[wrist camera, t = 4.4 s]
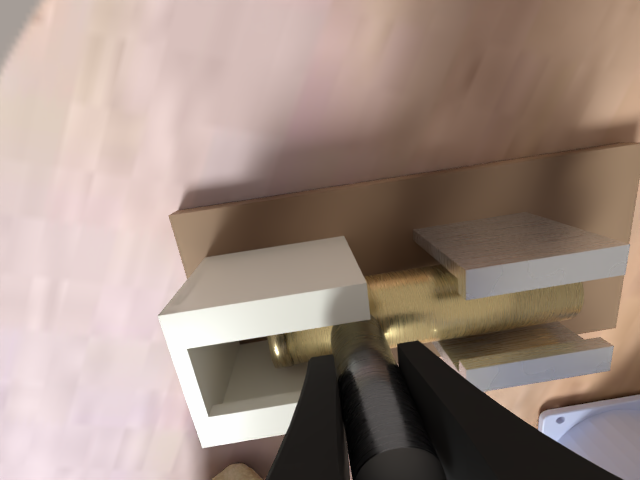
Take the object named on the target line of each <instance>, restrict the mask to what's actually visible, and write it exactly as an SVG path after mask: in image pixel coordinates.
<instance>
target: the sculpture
mask: <svg viewBox="0 0 640 480" xmlns="http://www.w3.org/2000/svg"><path fill="white" fill-rule="evenodd" d="M211 480H264V479H262V478H261V477H260V476H259V475H258V474H257V473H256V472H255V471H254V470H253V469H252V468H250V467H248V466H247V465H245V464H243V463H238V464H232V465H229V466H228V467H226V468H225V469H224V470H223V471H221V472H220V473H219V474H218V475H217V476H215V477H214V478H213V479H211Z"/></svg>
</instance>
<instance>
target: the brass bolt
mask: <svg viewBox="0 0 640 480" xmlns="http://www.w3.org/2000/svg"><path fill="white" fill-rule="evenodd" d="M364 278H365V280H366V283H367V291H368V300H369V309H370V318H371V319H370V320H364V321H357V322H351V323H345V324H339V325H332V326H326V327H320V328H314V329H307V330H301V331H295V332H289V333H283V334H276V335H270V336H267V340H268V346H269V351H270V355H271V359H272V362H273V364H274V366H275V368H283V367H289V366H293V365H294V364H298V363H305V362H308V361H309V360H310V359H311V357H317V356H323V355H330V354H333V357H334V363H335V369H336V376H337V382H338V389H339V396H340V402H341V409H342V416H343V422H344V429H345V435H346V441H347V447H348V454H349V460H350V466H351V473H352V479H353V480H447V478H446V474H445V472H444V469H443V466H442V464H441V462H440V459H439V457H438V455H437V453H436V450H435V448H434V446H433V444H432V441H431V439H430V437H429V435H428V432H427V430H426V428H425V426H424V423H423V421H422V419H421V416H420V414H419V412H418V410H417V407H416V405H415V403H414V401H413V398H412V396H411V394H410V392H409V389H408V387H407V385H406V383H405V380H404V378H403V376H402V374H401V371H400V369H399V367H398V364H397V362H396V360H395V358H394V355H393V353H392V351H391V348H397V344H398V343H405V342H411V341H417V340H418V341H420V342H421V343H428V342H434V341H440V340H446V339H452V338H459V337H465V336H471V335H477V334H483V333H489V332H496V331H502V330H508V329H514V328H520V327H526V326H533V325H539V324H545V323H551V322H557V321H563V320H569V319H572V318H574V317H576V316H577V315H578V314H579V313H580V311H581V309H582V306H583V302H584V288H583V284H582V282H577V283H571V284H565V285H559V286H552V287H546V288H540V289H534V290H527V291H521V292H515V293H509V294H503V295H496V296H490V297H484V298H478V299H471V300H465V299H464V298H463V297H462V296H461V295H460V294H459V293H458V278H457V277H455V276H454V275H453V274H452V273H451V272H450V271H448V270H447V269H446V268H445V267H444V266H443V265H441V264H439V265H433V266H427V267H420V268H414V269H408V270H401V271H395V272H389V273H382V274H376V275H370V276H364Z"/></svg>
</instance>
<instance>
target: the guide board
mask: <svg viewBox="0 0 640 480" xmlns="http://www.w3.org/2000/svg"><path fill="white" fill-rule="evenodd" d="M639 178H640V143H617V144H610V145H604V146H597V147H590V148H584V149H577V150H571V151H564V152H558V153H551V154H545V155H538V156H532V157H525V158H518V159H512V160H505V161H499V162H492V163H486V164H479V165H473V166H466V167H459V168H453V169H446V170H440V171H433V172H427V173H420V174H414V175H407V176H401V177H394V178H387V179H381V180H374V181H368V182H361V183H355V184H348V185H342V186H335V187H328V188H322V189H315V190H309V191H302V192H296V193H289V194H283V195H276V196H270V197H263V198H256V199H250V200H243V201H237V202H230V203H224V204H217V205H211V206H204V207H198V208H191V209H184V210H178V211H176V212H174V213H172V214H171V215H169V219H170V222H171V225H172V229H173V232H174V236H175V239H176V242H177V246H178V249H179V253H180V256H181V260H182V263H183V266H184V270H185V273H186V277H187V279H188V278H189V277H190V276H191V274H192V273H193V272H194V271H195V269H196V268H197V267H198V266H199V265H200V263H201V262H202V261H203V260H204V258H205V257H211V256H217V255H224V254H230V253H237V252H243V251H249V250H256V249H262V248H269V247H275V246H282V245H288V244H294V243H301V242H307V241H314V240H320V239H327V238H333V237H339V236H344V237H345V239H346V241H347V243H348V245H349V247H350V249H351V251H352V253H353V255H354V258H355V260H356V262H357V264H358V266H359V268H360V270H361V272H362V274H363V276H370V275H376V274H382V273H389V272H395V271H401V270H408V269H414V268H420V267H427V266H433V265H439V264H441V265H443V266H444V267H445V268H446V269H447V270H448V271H450V272H451V273H452V274H453V275H454V276H455V277H457V278H458V293H459V294H460V295H461V296H462V297H463V298H464V299H465V300H471V299H478V298H484V297H490V296H496V295H503V294H509V293H515V292H521V291H527V290H534V289H540V288H546V287H552V286H559V285H565V284H571V283H577V282H582V284H583V288H584V302H583V306H582V309H581V311H580V313H579V314H578V315H577V316H576V317H574V318H572V319H569V320H563V321H557V322H551V323H545V324H539V325H533V326H526V327H520V328H514V329H508V330H502V331H496V332H489V333H483V334H477V335H471V336H465V337H459V338H452V339H446V340H440V341H434V342H428V343H422V344H424V345H425V346H426V347H427V348H428V349H430V350H431V351H432V352H433V353H434V354H436V355H437V356H438V357H442V358H443V360H444V361H445V363H447V364H448V365H449V366H450V367H451V368H453V369H454V370H455V371H456V372H458V373H459V374H460V375H461V376H463V377H464V378H465V379H467V380H468V381H469V382H471V383H472V384H473V385H474V386H476V387H477V388H478V389H480V390H481V391H482V392H484V391H490V390H496V389H502V388H508V387H514V386H520V385H527V384H533V383H539V382H545V381H551V380H557V379H563V378H569V377H575V376H581V375H587V374H593V373H599V372H605V371H610V366H611V360H612V353H613V347H614V346H613V345H611V344H610V343H608V342H607V341H605V340H604V339H602V338H601V337H599V338H593V339H586V340H584V339H583V338H581V337H580V336H578V335H577V334H582V333H588V332H594V331H600V330H606V329H612V328H616V323H617V317H618V310H619V304H620V298H621V292H622V285H623V279H624V275H625V272H626V266H627V260H628V253H629V247H630V244H629V241H630V235H631V229H632V222H633V216H634V210H635V203H636V197H637V191H638V185H639ZM266 340H267V336H264V337H258V338H251V339H245V340H239V343H240V345H241V344H247V343H253V342H259V341H266ZM391 351H392V353H393V355H394V358H395V360H396V362H397V364H398V352H397V348H391Z"/></svg>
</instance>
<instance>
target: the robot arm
mask: <svg viewBox="0 0 640 480" xmlns="http://www.w3.org/2000/svg"><path fill="white" fill-rule="evenodd" d="M397 352H398V365H399V369H400V371H401V374H402V376H403V378H404V380H405V383H406V385H407V387H408V389H409V392H410V394H411V396H412V398H413V401H414V403H415V405H416V407H417V410H418V412H419V414H420V416H421V419H422V421H423V423H424V426H425V428H426V430H427V432H428V435H429V437H430V439H431V441H432V444H433V446H434V448H435V450H436V453H437V455H438V457H439V459H440V462H441V464H442V466H443V469H444V472H445V474H446V478H447V480H640V394H639V395H633V396H627V397H621V398H615V399H609V400H603V401H597V402H591V403H585V404H579V405H573V406H567V407H561V408H555V409H549V410H545V411H543V412H542V413H541V414H540V416H539V425H538V430H537V429H536V428H534V427H533V426H531V425H529V424H528V423H526V422H525V421H523V420H522V419H520V418H519V417H517V416H516V415H515V414H513V413H512V412H510V411H509V410H507V409H506V408H504V407H503V406H501V405H500V404H499V403H497V402H496V401H495V400H493V399H492V398H490V397H489V396H488V395H486V394H485V393H484V392H482V391H481V390H480V389H478V388H477V387H476V386H474V385H473V384H472V383H471V382H469V381H468V380H467V379H465V378H464V377H463V376H461V375H460V374H459V373H458V372H456V371H455V370H454V369H453V368H451V367H450V366H449V365H448V364H447V363H445V362H444V361H443V360H442V359H440V358H439V357H438V356H437V355H436V354H434V353H433V352H432V351H431V350H430V349H428V348H427V347H426V346H425V345H424V344H422V343H421V342H420V341H418V340H417V341H411V342H405V343H398V344H397ZM265 480H350V474H349V460H348V448H347V442H346V435H345V429H344V422H343V416H342V409H341V402H340V396H339V389H338V382H337V376H336V369H335V363H334V357H333V354H330V355H323V356H317V357H311V359H310V360H309V361H308V366H307V371H306V376H305V380H304V383H303V387H302V390H301V394H300V397H299V400H298V402H297V405H296V408H295V411H294V414H293V417H292V420H291V422H290V425H289V427H288V430H287V432H286V434H285V437H284V439H283V441H282V444H281V446H280V449H279V451H278V453H277V456H276V458H275V460H274V462H273V464H272V466H271V469H270V471H269V473H268V475H267V477H266V479H265Z"/></svg>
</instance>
